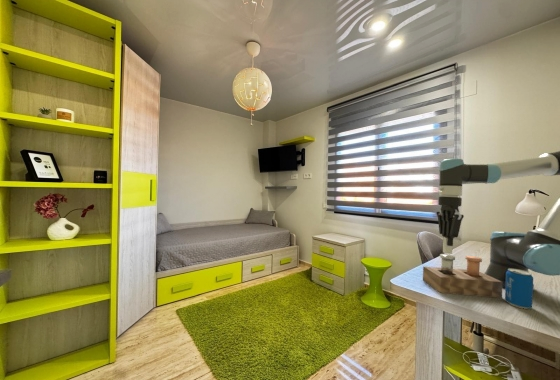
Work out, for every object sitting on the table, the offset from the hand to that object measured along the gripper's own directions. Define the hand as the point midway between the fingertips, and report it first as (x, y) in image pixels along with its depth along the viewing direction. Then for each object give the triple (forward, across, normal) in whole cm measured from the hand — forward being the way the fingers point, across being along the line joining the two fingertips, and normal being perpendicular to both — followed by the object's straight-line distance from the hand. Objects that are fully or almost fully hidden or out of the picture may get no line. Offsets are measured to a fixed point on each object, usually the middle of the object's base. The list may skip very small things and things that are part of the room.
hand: (447, 253), depth 89 cm
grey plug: (+8, 0, 0) cm, 8 cm away
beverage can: (+14, +11, +17) cm, 25 cm away
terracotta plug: (+8, 0, +10) cm, 13 cm away
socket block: (+14, 0, +5) cm, 15 cm away
